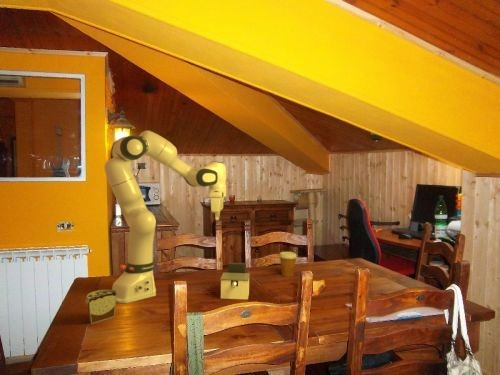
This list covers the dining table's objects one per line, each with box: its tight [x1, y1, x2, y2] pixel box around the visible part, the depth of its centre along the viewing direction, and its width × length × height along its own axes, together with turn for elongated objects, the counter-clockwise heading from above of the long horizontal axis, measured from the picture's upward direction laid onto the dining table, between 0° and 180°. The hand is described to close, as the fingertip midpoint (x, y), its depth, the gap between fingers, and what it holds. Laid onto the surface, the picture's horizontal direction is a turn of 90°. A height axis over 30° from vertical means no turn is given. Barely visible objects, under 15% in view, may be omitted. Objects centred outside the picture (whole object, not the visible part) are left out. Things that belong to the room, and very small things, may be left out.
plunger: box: [227, 262, 246, 288], centre depth 176 cm, size 17×8×11 cm, turn 177°
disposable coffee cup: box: [279, 251, 297, 278], centre depth 212 cm, size 10×10×12 cm
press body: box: [220, 272, 250, 300], centre depth 177 cm, size 10×12×9 cm
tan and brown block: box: [84, 289, 118, 325], centre depth 148 cm, size 12×6×10 cm, turn 141°
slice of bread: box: [311, 279, 326, 297], centre depth 188 cm, size 18×18×4 cm
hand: (217, 219), depth 201 cm, fingers closed
